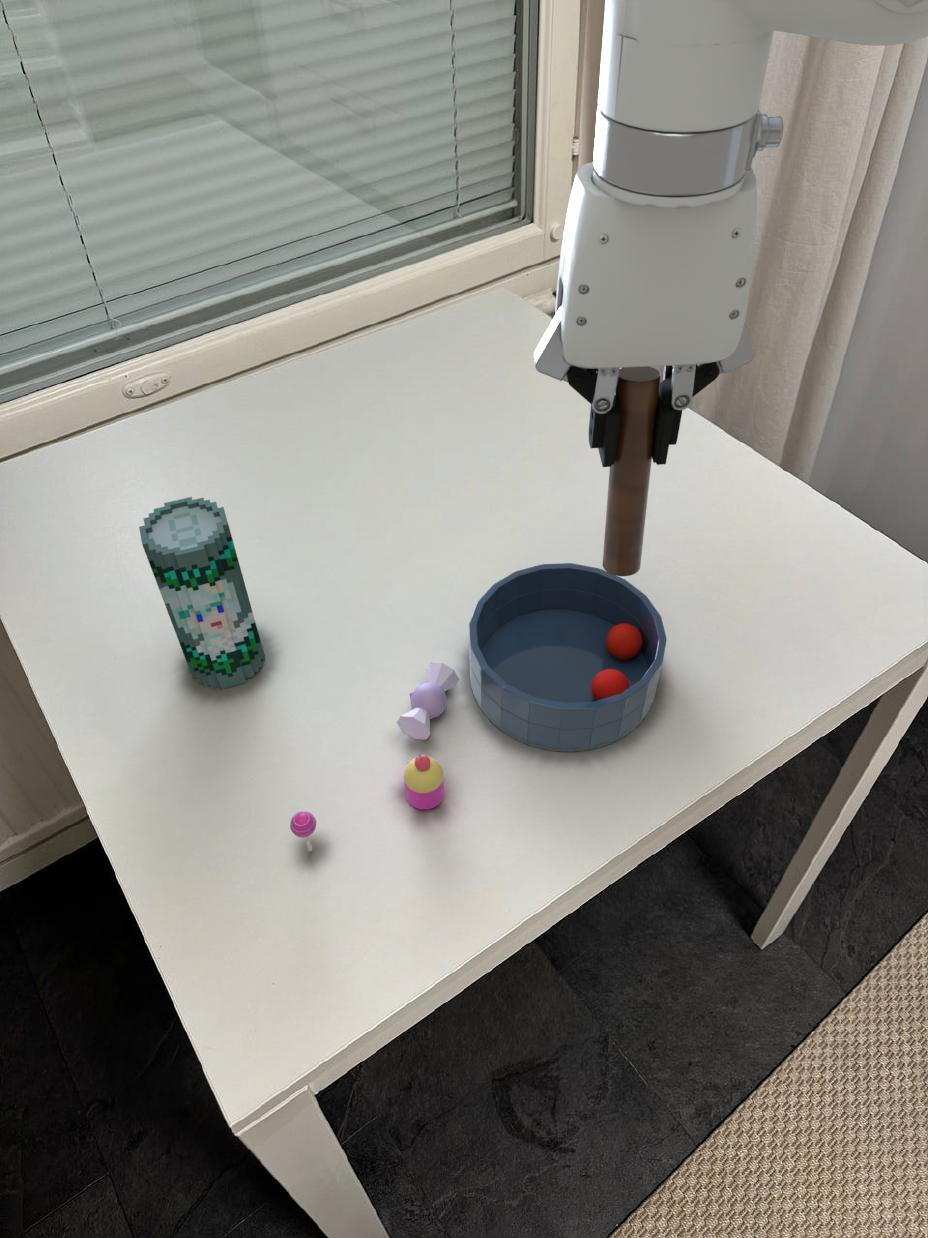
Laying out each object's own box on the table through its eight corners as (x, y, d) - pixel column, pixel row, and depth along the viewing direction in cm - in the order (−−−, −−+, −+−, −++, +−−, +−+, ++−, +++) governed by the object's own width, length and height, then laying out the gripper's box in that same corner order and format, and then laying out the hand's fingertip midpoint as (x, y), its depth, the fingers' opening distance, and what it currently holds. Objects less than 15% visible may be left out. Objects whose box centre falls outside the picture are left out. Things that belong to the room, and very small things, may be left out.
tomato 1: (596, 627, 74) (630, 614, 74) (607, 659, 75) (640, 646, 75) (607, 636, 71) (641, 622, 72) (618, 669, 72) (652, 656, 72)
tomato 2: (586, 693, 68) (593, 659, 70) (589, 711, 71) (595, 679, 72) (626, 698, 68) (631, 664, 69) (627, 716, 70) (633, 683, 72)
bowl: (638, 605, 79) (646, 560, 75) (671, 748, 68) (683, 704, 64) (466, 611, 79) (466, 566, 75) (474, 755, 68) (473, 712, 64)
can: (196, 696, 73) (145, 563, 61) (185, 643, 76) (135, 509, 65) (270, 675, 74) (233, 541, 63) (256, 625, 78) (218, 490, 67)
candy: (402, 672, 74) (397, 622, 69) (492, 701, 72) (492, 652, 67) (293, 856, 63) (278, 811, 58) (395, 896, 61) (389, 853, 56)
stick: (640, 556, 63) (660, 365, 54) (640, 577, 61) (661, 382, 52) (603, 554, 63) (617, 364, 55) (601, 575, 61) (616, 381, 53)
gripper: (812, 113, 46) (741, 413, 60) (501, 126, 46) (500, 424, 60) (861, 169, 41) (771, 484, 55) (512, 185, 41) (508, 496, 55)
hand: (630, 450), depth 57 cm, fingers closed on stick, 2 cm apart
